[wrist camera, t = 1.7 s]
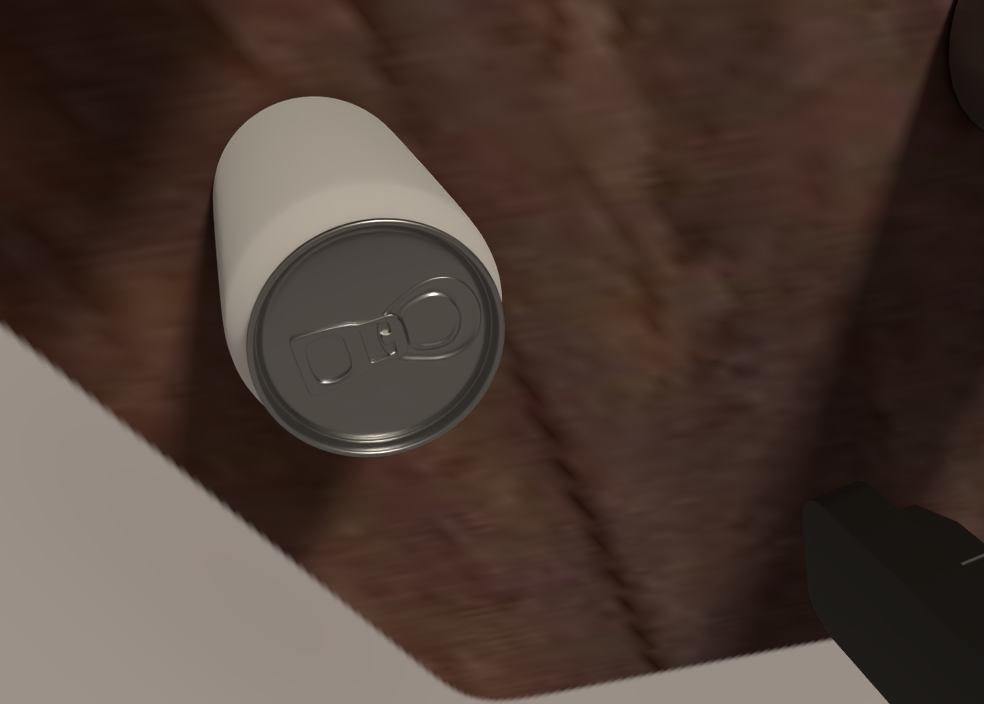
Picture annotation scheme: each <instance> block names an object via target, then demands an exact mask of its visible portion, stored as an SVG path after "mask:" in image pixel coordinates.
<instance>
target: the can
mask: <svg viewBox="0 0 984 704" xmlns="http://www.w3.org/2000/svg"><path fill="white" fill-rule="evenodd" d="M213 213H214V228H215V241H216V254H217V266H218V278H219V289H220V299H221V309H222V318H223V325H224V331H225V337H226V341H227V345H228V348H229V351H230V354H231V357H232V360H233V362H234V365H235V367H236V369H237V371H238V373H239V375H240V376H241V378H242V380H243V381H244V383H245V384H246V386H247V387H248V388H249V390H250V391H251V392H252V393H253V395H254V396H255V397H256V398H257V399H258V400H259V401H260V402H261V403H262V404H263V405H264V406H265V408H266V409H267V410H268V412H269V413H270V414H271V415H272V417H273V418H274V419H275V420H276V421H277V422H278V423H279V424H280V425H281V426H282V427H283V428H285V429H286V430H287V431H288V432H290V433H291V434H292V435H294V436H295V437H297V438H298V439H300V440H302V441H303V442H305V443H307V444H309V445H311V446H314V447H316V448H319V449H321V450H324V451H327V452H331V453H335V454H339V455H345V456H353V457H379V456H388V455H393V454H398V453H402V452H406V451H409V450H412V449H415V448H418V447H420V446H422V445H425V444H427V443H429V442H431V441H433V440H435V439H437V438H438V437H440V436H442V435H443V434H445V433H446V432H448V431H449V430H451V429H452V428H453V427H455V426H456V425H457V424H458V423H460V422H461V421H462V420H463V419H464V418H465V417H466V416H467V415H468V414H469V413H470V412H471V411H472V410H473V409H474V408H475V407H476V405H477V404H478V403H479V402H480V400H481V399H482V397H483V396H484V395H485V393H486V391H487V390H488V388H489V386H490V385H491V383H492V381H493V379H494V376H495V374H496V372H497V369H498V367H499V364H500V360H501V357H502V352H503V347H504V339H505V318H504V311H503V306H502V293H501V284H500V279H499V274H498V271H497V267H496V264H495V261H494V259H493V256H492V254H491V252H490V250H489V248H488V246H487V244H486V242H485V240H484V239H483V237H482V235H481V234H480V232H479V231H478V229H477V228H476V227H475V225H474V224H473V223H472V221H471V220H470V219H469V218H468V216H467V215H466V214H465V213H464V212H463V210H462V209H461V208H460V207H459V206H458V205H457V203H456V202H455V201H454V200H453V199H452V198H451V196H450V195H449V194H448V193H447V192H446V191H445V190H444V188H443V187H442V186H441V185H440V184H439V183H438V182H437V181H436V179H435V178H434V177H433V176H432V175H431V174H430V173H429V172H428V170H427V169H426V168H425V167H424V166H423V165H422V164H421V163H420V162H419V160H418V159H417V158H416V157H415V156H414V155H413V154H412V153H411V152H410V150H409V149H408V148H407V147H406V146H405V145H404V144H403V143H402V142H401V141H400V139H399V138H398V137H397V136H396V135H395V134H394V133H393V132H392V131H391V130H390V129H389V128H388V127H387V126H386V125H385V124H384V123H383V122H381V121H380V120H379V119H378V118H376V117H375V116H374V115H372V114H371V113H369V112H367V111H366V110H364V109H362V108H360V107H358V106H356V105H354V104H351V103H348V102H345V101H342V100H338V99H334V98H327V97H300V98H294V99H290V100H286V101H282V102H279V103H277V104H274V105H272V106H270V107H268V108H266V109H264V110H262V111H260V112H259V113H257V114H256V115H254V116H253V117H252V118H250V119H249V120H248V121H247V122H246V123H244V124H243V125H242V126H241V127H240V128H239V130H238V131H237V132H236V133H235V134H234V135H233V137H232V138H231V139H230V141H229V143H228V144H227V146H226V147H225V149H224V151H223V153H222V155H221V158H220V160H219V163H218V166H217V170H216V174H215V178H214V186H213Z"/></svg>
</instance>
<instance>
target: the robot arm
mask: <svg viewBox="0 0 984 704" xmlns="http://www.w3.org/2000/svg"><path fill="white" fill-rule="evenodd" d="M949 66H950V73H951V79H952V85H953V88H954V91H955V93H956V96H957V98H958V100H959V103H960V105H961V107H962V109H963V110H964V111H965V112H966V114H967V115H968V116H969V118H970V119H971V120H972V122H973V123H975V124H976V125H977V126H979V127H980V128H982V129H983V130H984V0H958V2H957V5H956V8H955V12H954V17H953V22H952V27H951V32H950V42H949ZM802 520H803V534H804V548H805V562H806V576H807V588H808V593H809V597H810V600H811V603H812V606H813V608H814V610H815V613H816V615H817V617H818V618H819V620H820V622H821V624H822V625H823V627H824V628H825V630H826V631H827V633H828V634H829V635H830V636H831V637H832V639H833V640H834V641H835V642H836V643H837V644H838V645H839V647H840V648H841V649H842V650H843V651H844V652H845V653H846V655H847V656H848V657H849V658H850V659H851V660H852V661H853V663H854V664H855V665H856V666H857V667H858V668H859V669H860V671H861V672H862V673H863V674H864V675H865V676H866V677H867V679H868V680H869V681H870V682H871V683H872V684H873V685H874V686H875V688H876V689H877V690H878V691H879V692H880V693H881V694H882V696H883V697H884V698H885V699H886V700H887V701H888V703H889V704H984V543H983V542H982V541H981V540H979V539H978V538H977V537H976V536H974V535H973V534H972V533H971V532H969V531H968V530H967V529H966V528H964V527H963V526H962V525H961V524H959V523H958V522H957V521H954V520H952V519H949V518H947V517H944V516H942V515H940V514H937V513H935V512H932V511H930V510H927V509H925V508H923V507H920V506H918V505H915V504H913V505H911V506H908V507H906V508H903V509H901V510H898V509H897V508H896V507H894V506H893V505H892V504H891V503H890V502H889V501H887V500H886V499H885V498H884V497H883V496H882V495H880V494H879V493H878V492H877V491H876V490H875V489H873V488H872V487H871V486H869V485H868V484H866V483H864V482H855V483H852V484H849V485H847V486H844V487H842V488H839V489H837V490H834V491H831V492H829V493H826V494H824V495H821V496H819V497H816V498H814V499H811V500H808V501H806V502H805V503H804V505H803V509H802Z"/></svg>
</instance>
